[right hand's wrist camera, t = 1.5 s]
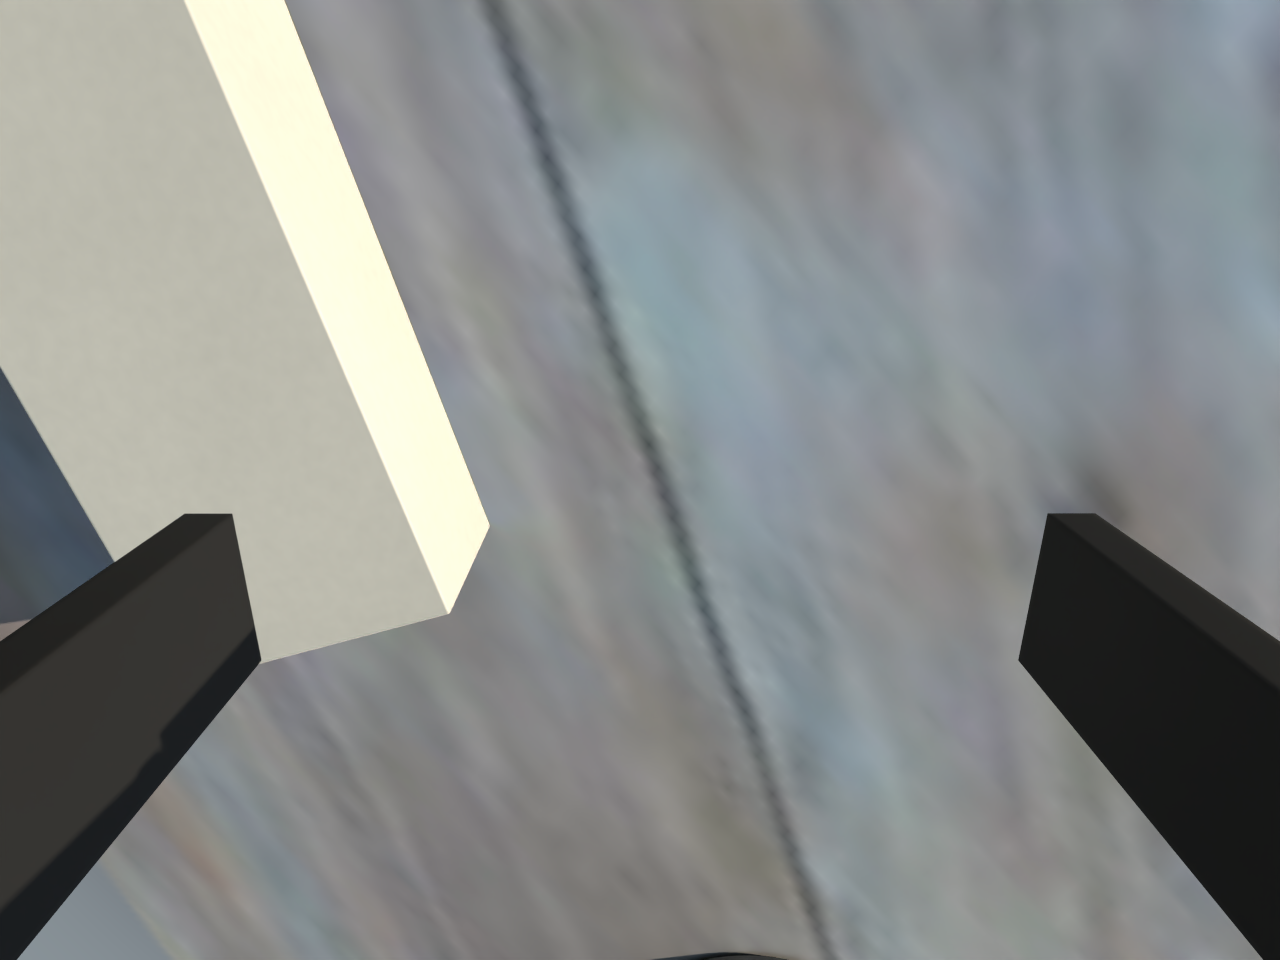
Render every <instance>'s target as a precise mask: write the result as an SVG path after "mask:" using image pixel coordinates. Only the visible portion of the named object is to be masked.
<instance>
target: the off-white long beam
mask: <svg viewBox="0 0 1280 960" xmlns="http://www.w3.org/2000/svg"><path fill="white" fill-rule="evenodd" d="M0 368H1V370H2V372H3V373H4V375H5V377H6V378H7V380H8V382H9V384H10V385H11V387H12V389H13V390H14V392H15V394H16V395H17V397H18V399H19V401H20V402H21V404H22V406H23V407H24V409H25V411H26V413H27V414H28V416H29V418H30V419H31V421H32V423H33V425H34V426H35V428H36V430H37V431H38V433H39V435H40V436H41V438H42V440H43V442H44V443H45V445H46V447H47V448H48V450H49V452H50V454H51V455H52V457H53V459H54V460H55V462H56V464H57V466H58V467H59V469H60V471H61V472H62V474H63V476H64V478H65V479H66V481H67V483H68V484H69V486H70V488H71V489H72V491H73V493H74V495H75V496H76V498H77V500H78V501H79V503H80V505H81V507H82V508H83V510H84V512H85V513H86V515H87V517H88V519H89V520H90V522H91V524H92V525H93V527H94V529H95V530H96V532H97V534H98V536H99V537H100V539H101V541H102V542H103V544H104V546H105V548H106V549H107V551H108V553H109V554H110V556H111V558H112V560H113V561H114V562H116V561H117V560H118V559H120V558H121V557H123V556H124V555H126V554H127V553H129V552H130V551H131V550H133V549H134V548H136V547H137V546H139V545H140V544H142V543H143V542H144V541H146V540H147V539H149V538H150V537H152V536H153V535H154V534H156V533H157V532H159V531H160V530H162V529H163V528H165V527H166V526H167V525H169V524H170V523H172V522H173V521H175V520H176V519H178V518H179V517H180V516H182V515H183V514H232V515H233V520H234V525H235V530H236V535H237V540H238V545H239V550H240V555H241V560H242V565H243V570H244V575H245V580H246V585H247V590H248V595H249V600H250V605H251V610H252V615H253V620H254V625H255V630H256V635H257V640H258V645H259V650H260V655H261V662H260V663H259V664H261V663H264V662H268V661H272V660H276V659H280V658H283V657H287V656H291V655H295V654H298V653H302V652H306V651H310V650H314V649H317V648H321V647H325V646H329V645H333V644H336V643H340V642H344V641H348V640H352V639H355V638H359V637H363V636H367V635H371V634H374V633H378V632H382V631H386V630H390V629H393V628H397V627H401V626H405V625H409V624H412V623H416V622H420V621H424V620H427V619H431V618H435V617H439V616H443V615H446V614H449V613H450V611H451V609H452V607H453V605H454V603H455V600H456V598H457V596H458V594H459V592H460V590H461V587H462V585H463V583H464V581H465V579H466V577H467V574H468V572H469V570H470V568H471V566H472V564H473V561H474V559H475V557H476V555H477V553H478V550H479V548H480V546H481V544H482V542H483V540H484V537H485V535H486V533H487V531H488V529H489V523H488V520H487V518H486V515H485V513H484V510H483V507H482V505H481V502H480V500H479V497H478V495H477V492H476V490H475V487H474V484H473V482H472V479H471V477H470V474H469V472H468V469H467V467H466V464H465V461H464V459H463V456H462V454H461V451H460V449H459V446H458V444H457V441H456V438H455V436H454V433H453V431H452V428H451V426H450V423H449V421H448V418H447V415H446V413H445V410H444V408H443V405H442V403H441V400H440V398H439V395H438V392H437V390H436V387H435V385H434V382H433V380H432V377H431V374H430V372H429V369H428V367H427V364H426V362H425V359H424V357H423V354H422V351H421V349H420V346H419V344H418V341H417V339H416V336H415V334H414V331H413V328H412V326H411V323H410V321H409V318H408V316H407V313H406V311H405V308H404V305H403V303H402V300H401V298H400V295H399V293H398V290H397V288H396V285H395V282H394V280H393V277H392V275H391V272H390V270H389V267H388V265H387V262H386V259H385V257H384V254H383V252H382V249H381V247H380V244H379V242H378V239H377V236H376V234H375V231H374V229H373V226H372V224H371V221H370V219H369V216H368V213H367V211H366V208H365V206H364V203H363V201H362V198H361V196H360V193H359V190H358V188H357V185H356V183H355V180H354V178H353V175H352V173H351V170H350V167H349V165H348V162H347V160H346V157H345V155H344V152H343V150H342V147H341V144H340V142H339V139H338V137H337V134H336V132H335V129H334V127H333V124H332V121H331V119H330V116H329V114H328V111H327V109H326V106H325V104H324V101H323V98H322V96H321V93H320V91H319V88H318V86H317V83H316V81H315V78H314V75H313V73H312V70H311V68H310V65H309V63H308V60H307V58H306V55H305V52H304V50H303V47H302V45H301V42H300V40H299V37H298V35H297V32H296V29H295V27H294V24H293V22H292V19H291V17H290V14H289V12H288V9H287V6H286V4H285V1H284V0H0Z"/></svg>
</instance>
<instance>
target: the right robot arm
mask: <svg viewBox="0 0 1280 960" xmlns="http://www.w3.org/2000/svg"><path fill="white" fill-rule="evenodd" d="M260 662H261V655H260V650H259V645H258V640H257V635H256V630H255V625H254V620H253V615H252V610H251V605H250V600H249V595H248V590H247V585H246V580H245V575H244V570H243V565H242V560H241V555H240V550H239V545H238V540H237V535H236V530H235V525H234V520H233V515H232V514H183V515H182V516H180V517H179V518H178V519H176V520H175V521H173V522H172V523H170V524H169V525H167V526H166V527H165V528H163V529H162V530H160V531H159V532H157V533H156V534H154V535H153V536H152V537H150V538H149V539H147V540H146V541H144V542H143V543H142V544H140V545H139V546H137V547H136V548H134V549H133V550H131V551H130V552H129V553H127V554H126V555H124V556H123V557H121V558H120V559H118V560H117V561H116V562H114V563H113V564H111V565H110V566H108V567H107V568H105V569H104V570H103V571H101V572H100V573H98V574H97V575H95V576H94V577H92V578H91V579H90V580H88V581H87V582H85V583H84V584H82V585H81V586H80V587H78V588H77V589H75V590H74V591H72V592H71V593H69V594H68V595H67V596H65V597H64V598H62V599H61V600H59V601H58V602H56V603H55V604H54V605H52V606H51V607H49V608H48V609H46V610H45V611H43V612H42V613H41V614H39V615H38V616H36V617H35V618H33V619H32V620H30V621H29V622H28V623H26V624H25V625H23V626H22V627H20V628H19V629H18V630H16V631H15V632H13V633H12V634H10V635H9V636H7V637H6V638H5V639H3V640H2V641H0V960H17V959H18V957H19V956H20V955H21V954H22V953H23V951H24V950H25V949H26V948H27V946H28V945H29V944H30V943H31V942H32V940H33V939H34V938H35V937H36V935H37V934H38V933H39V932H40V931H41V929H42V928H43V927H44V926H45V924H46V923H47V922H48V921H49V920H50V918H51V917H52V916H53V915H54V913H55V912H56V911H57V910H58V909H59V907H60V906H61V905H62V904H63V902H64V901H65V900H66V899H67V898H68V896H69V895H70V894H71V893H72V891H73V890H74V889H75V888H76V887H77V885H78V884H79V883H80V882H81V880H82V879H83V878H84V877H85V876H86V874H87V873H88V872H89V871H90V869H91V868H92V867H93V866H94V865H95V863H96V862H97V861H98V860H99V858H100V857H101V856H102V855H103V854H104V852H105V851H106V850H107V849H108V847H109V846H110V845H111V844H112V843H113V841H114V840H115V839H116V838H117V836H118V835H119V834H120V833H121V832H122V830H123V829H124V828H125V827H126V825H127V824H128V823H129V822H130V821H131V819H132V818H133V817H134V816H135V814H136V813H137V812H138V811H139V810H140V808H141V807H142V806H143V805H144V803H145V802H146V801H147V800H148V799H149V797H150V796H151V795H152V794H153V792H154V791H155V790H156V789H157V788H158V786H159V785H160V784H161V783H162V781H163V780H164V779H165V778H166V777H167V775H168V774H169V773H170V772H171V770H172V769H173V768H174V767H175V766H176V764H177V763H178V762H179V761H180V759H181V758H182V757H183V756H184V755H185V753H186V752H187V751H188V750H189V748H190V747H191V746H192V745H193V744H194V742H195V741H196V740H197V739H198V737H199V736H200V735H201V734H202V733H203V731H204V730H205V729H206V728H207V726H208V725H209V724H210V723H211V722H212V720H213V719H214V718H215V717H216V715H217V714H218V713H219V712H220V711H221V709H222V708H223V707H224V706H225V704H226V703H227V702H228V701H229V700H230V698H231V697H232V696H233V695H234V693H235V692H236V691H237V690H238V689H239V687H240V686H241V685H242V684H243V682H244V681H245V680H246V679H247V678H248V676H249V675H250V674H251V673H252V671H253V670H254V669H255V668H256V667H257V665H258V664H259V663H260ZM1019 662H1020V663H1021V664H1022V665H1023V667H1024V668H1025V669H1026V670H1027V671H1028V673H1029V674H1030V675H1031V676H1032V678H1033V679H1034V680H1035V681H1036V682H1037V684H1038V685H1039V686H1040V687H1041V689H1042V690H1043V691H1044V692H1045V693H1046V695H1047V696H1048V697H1049V698H1050V700H1051V701H1052V702H1053V703H1054V704H1055V706H1056V707H1057V708H1058V709H1059V711H1060V712H1061V713H1062V714H1063V715H1064V717H1065V718H1066V719H1067V720H1068V722H1069V723H1070V724H1071V725H1072V726H1073V728H1074V729H1075V730H1076V731H1077V733H1078V734H1079V735H1080V736H1081V737H1082V739H1083V740H1084V741H1085V742H1086V744H1087V745H1088V746H1089V747H1090V748H1091V750H1092V751H1093V752H1094V753H1095V755H1096V756H1097V757H1098V758H1099V759H1100V761H1101V762H1102V763H1103V764H1104V766H1105V767H1106V768H1107V769H1108V770H1109V772H1110V773H1111V774H1112V775H1113V777H1114V778H1115V779H1116V780H1117V781H1118V783H1119V784H1120V785H1121V786H1122V788H1123V789H1124V790H1125V791H1126V792H1127V794H1128V795H1129V796H1130V797H1131V799H1132V800H1133V801H1134V802H1135V803H1136V805H1137V806H1138V807H1139V808H1140V810H1141V811H1142V812H1143V813H1144V814H1145V816H1146V817H1147V818H1148V819H1149V821H1150V822H1151V823H1152V824H1153V825H1154V827H1155V828H1156V829H1157V830H1158V832H1159V833H1160V834H1161V835H1162V836H1163V838H1164V839H1165V840H1166V841H1167V843H1168V844H1169V845H1170V846H1171V847H1172V849H1173V850H1174V851H1175V852H1176V854H1177V855H1178V856H1179V857H1180V858H1181V860H1182V861H1183V862H1184V863H1185V865H1186V866H1187V867H1188V868H1189V869H1190V871H1191V872H1192V873H1193V874H1194V876H1195V877H1196V878H1197V879H1198V880H1199V882H1200V883H1201V884H1202V885H1203V887H1204V888H1205V889H1206V890H1207V891H1208V893H1209V894H1210V895H1211V896H1212V898H1213V899H1214V900H1215V901H1216V902H1217V904H1218V905H1219V906H1220V907H1221V909H1222V910H1223V911H1224V912H1225V913H1226V915H1227V916H1228V917H1229V918H1230V920H1231V921H1232V922H1233V923H1234V924H1235V926H1236V927H1237V928H1238V929H1239V931H1240V932H1241V933H1242V934H1243V935H1244V937H1245V938H1246V939H1247V940H1248V942H1249V943H1250V944H1251V945H1252V946H1253V948H1254V949H1255V950H1256V951H1257V953H1258V954H1259V955H1260V956H1261V957H1262V959H1263V960H1280V641H1278V640H1277V639H1275V638H1274V637H1273V636H1271V635H1270V634H1268V633H1267V632H1265V631H1264V630H1262V629H1261V628H1260V627H1258V626H1257V625H1255V624H1254V623H1252V622H1251V621H1250V620H1248V619H1247V618H1245V617H1244V616H1242V615H1241V614H1239V613H1238V612H1237V611H1235V610H1234V609H1232V608H1231V607H1229V606H1228V605H1226V604H1225V603H1224V602H1222V601H1221V600H1219V599H1218V598H1216V597H1215V596H1213V595H1212V594H1211V593H1209V592H1208V591H1206V590H1205V589H1203V588H1202V587H1200V586H1199V585H1198V584H1196V583H1195V582H1193V581H1192V580H1190V579H1189V578H1188V577H1186V576H1185V575H1183V574H1182V573H1180V572H1179V571H1177V570H1176V569H1175V568H1173V567H1172V566H1170V565H1169V564H1167V563H1166V562H1164V561H1163V560H1162V559H1160V558H1159V557H1157V556H1156V555H1154V554H1153V553H1151V552H1150V551H1149V550H1147V549H1146V548H1144V547H1143V546H1141V545H1140V544H1138V543H1137V542H1136V541H1134V540H1133V539H1131V538H1130V537H1128V536H1127V535H1126V534H1124V533H1123V532H1121V531H1120V530H1118V529H1117V528H1115V527H1114V526H1113V525H1111V524H1110V523H1108V522H1107V521H1105V520H1104V519H1102V518H1101V517H1100V516H1098V515H1097V514H1048V515H1047V520H1046V525H1045V530H1044V535H1043V540H1042V545H1041V550H1040V555H1039V560H1038V565H1037V570H1036V575H1035V580H1034V585H1033V590H1032V595H1031V600H1030V605H1029V610H1028V615H1027V620H1026V625H1025V630H1024V635H1023V640H1022V645H1021V650H1020V655H1019ZM706 960H787V959H781V958H775V957H767V956H749V955H741V956H726V957H718V958H711V959H706Z"/></svg>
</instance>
